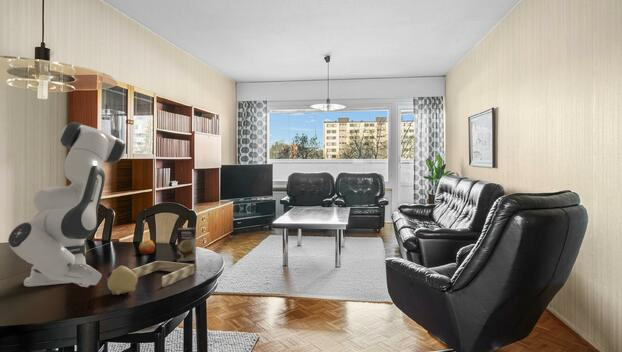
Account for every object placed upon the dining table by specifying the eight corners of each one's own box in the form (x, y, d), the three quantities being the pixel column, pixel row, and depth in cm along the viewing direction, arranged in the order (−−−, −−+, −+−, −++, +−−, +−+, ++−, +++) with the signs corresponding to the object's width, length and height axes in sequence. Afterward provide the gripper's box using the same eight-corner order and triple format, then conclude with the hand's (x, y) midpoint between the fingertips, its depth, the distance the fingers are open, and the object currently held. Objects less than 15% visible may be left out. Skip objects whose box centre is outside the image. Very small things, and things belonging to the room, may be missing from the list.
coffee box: (176, 261, 183) (176, 229, 183) (177, 258, 190) (177, 227, 189) (195, 260, 186) (195, 229, 185) (196, 257, 192) (196, 226, 192)
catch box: (164, 287, 145) (163, 277, 145) (123, 281, 151) (123, 272, 151) (194, 273, 164) (194, 264, 164) (157, 269, 170) (157, 260, 170)
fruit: (158, 248, 207) (155, 237, 202) (154, 258, 200) (150, 247, 196) (144, 248, 206) (141, 237, 202) (139, 258, 200) (135, 247, 195)
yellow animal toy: (130, 286, 145) (130, 259, 145) (141, 294, 137) (141, 266, 136) (102, 292, 138) (102, 264, 138) (112, 301, 130) (112, 271, 129)
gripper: (89, 256, 112) (115, 279, 122) (41, 251, 119) (69, 273, 128) (76, 275, 108) (104, 297, 118) (27, 269, 115) (57, 290, 124)
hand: (86, 284), depth 123 cm, fingers closed
